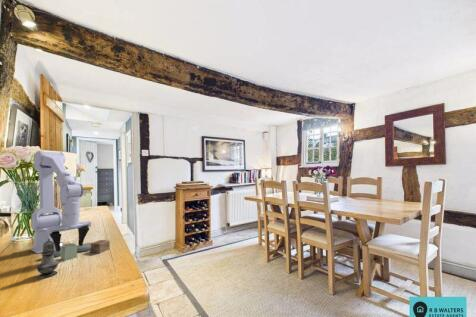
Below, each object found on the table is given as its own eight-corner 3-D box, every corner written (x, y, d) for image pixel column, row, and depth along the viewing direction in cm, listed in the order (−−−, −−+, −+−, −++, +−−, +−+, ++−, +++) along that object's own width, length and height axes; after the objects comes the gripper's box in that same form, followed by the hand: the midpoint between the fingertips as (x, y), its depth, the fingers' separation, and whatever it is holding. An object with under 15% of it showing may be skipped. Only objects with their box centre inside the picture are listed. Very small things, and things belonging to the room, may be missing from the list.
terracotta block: (51, 252, 96) (51, 244, 97) (68, 249, 101) (68, 241, 101) (52, 254, 94) (53, 246, 94) (70, 251, 98) (70, 243, 98)
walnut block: (90, 252, 96) (90, 243, 96) (100, 248, 100) (100, 239, 101) (99, 253, 94) (100, 244, 95) (109, 249, 99) (109, 240, 99)
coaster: (69, 249, 100) (69, 247, 100) (93, 243, 108) (93, 241, 108) (78, 253, 94) (78, 251, 94) (103, 247, 102) (103, 245, 102)
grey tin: (48, 256, 91) (49, 244, 92) (60, 253, 95) (61, 241, 95) (52, 258, 89) (52, 245, 89) (64, 255, 92) (64, 243, 93)
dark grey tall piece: (45, 280, 71) (46, 241, 72) (30, 278, 72) (32, 240, 73) (63, 271, 77) (64, 236, 77) (49, 270, 78) (50, 235, 79)
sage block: (61, 258, 89) (61, 245, 89) (72, 255, 92) (73, 243, 93) (64, 260, 87) (65, 247, 87) (76, 257, 90) (77, 244, 90)
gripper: (51, 217, 82) (50, 255, 81) (94, 212, 94) (93, 244, 93) (45, 216, 86) (43, 251, 85) (87, 210, 98) (86, 242, 97)
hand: (69, 248), depth 90 cm, fingers open, 7 cm apart
